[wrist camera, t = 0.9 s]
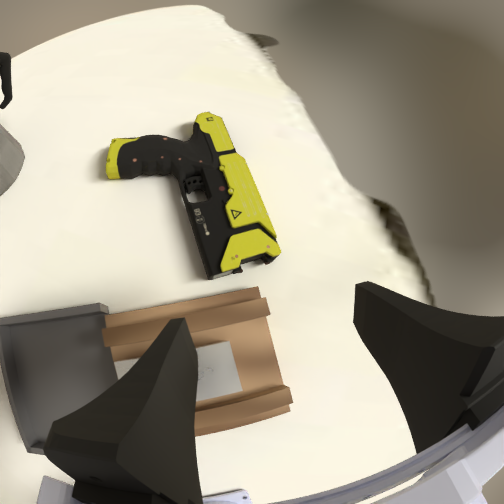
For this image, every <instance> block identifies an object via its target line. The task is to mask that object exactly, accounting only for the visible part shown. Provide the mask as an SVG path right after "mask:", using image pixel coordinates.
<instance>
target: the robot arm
mask: <svg viewBox="0 0 504 504" xmlns="http://www.w3.org/2000/svg"><path fill="white" fill-rule="evenodd" d="M353 323H354V325H355V327H356V329H357V332H358V334H359V336H360V337H361V339H362V341H363V343H364V344H365V346H366V347H367V349H368V350H369V352H370V353H371V355H372V356H373V357H374V359H375V360H376V362H377V363H378V365H379V366H380V368H381V369H382V371H383V372H384V374H385V375H386V377H387V379H388V380H389V382H390V384H391V386H392V388H393V390H394V392H395V394H396V396H397V398H398V401H399V403H400V405H401V408H402V410H403V412H404V415H405V418H406V420H407V423H408V426H409V429H410V432H411V435H412V438H413V442H414V445H415V449H416V453H417V455H415V456H413V457H411V458H409V459H407V460H405V461H403V462H401V463H399V464H397V465H394V466H392V467H390V468H388V469H386V470H383V471H381V472H379V473H376V474H374V475H371V476H369V477H366V478H364V479H361V480H358V481H356V482H353V483H350V484H347V485H344V486H341V487H338V488H334V489H331V490H328V491H324V492H321V493H317V494H313V495H309V496H305V497H300V498H296V499H291V500H286V501H281V502H275V503H269V504H355V503H358V502H360V501H363V500H366V499H368V498H371V497H373V496H376V495H378V494H380V493H383V492H385V491H387V490H390V489H392V488H394V487H396V486H398V485H400V484H402V483H404V482H406V481H408V480H410V479H412V478H414V477H416V476H418V475H419V474H421V473H423V472H425V471H426V472H425V473H424V474H423V476H422V477H421V478H420V479H419V480H418V481H417V482H416V483H415V484H413V485H411V486H409V487H407V488H405V489H403V490H401V491H399V492H396V493H394V494H392V495H390V496H387V497H385V498H383V499H380V500H378V501H376V502H373V503H371V504H487V502H486V500H485V498H484V496H483V494H482V493H481V491H482V486H483V485H484V484H485V483H486V482H487V481H488V480H489V479H490V478H491V477H493V476H494V474H496V473H497V472H498V471H499V470H500V469H501V468H502V467H503V466H504V316H501V317H489V316H476V315H468V314H462V313H456V312H451V311H447V310H443V309H440V308H436V307H433V306H430V305H427V304H424V303H421V302H418V301H416V300H413V299H411V298H408V297H406V296H403V295H401V294H399V293H396V292H394V291H392V290H389V289H387V288H385V287H382V286H380V285H377V284H375V283H372V282H369V281H367V282H362V283H358V284H355V303H354V318H353ZM197 384H198V354H197V351H196V348H195V346H194V343H193V340H192V337H191V334H190V331H189V328H188V325H187V322H186V319H185V317H183V318H175V319H170V321H169V322H168V323H167V324H166V326H165V327H164V328H163V330H162V331H161V332H160V334H159V335H158V336H157V338H156V339H155V340H154V342H153V343H152V344H151V345H150V347H149V348H148V349H147V350H146V352H145V353H144V354H143V355H142V356H141V357H140V358H139V360H138V361H137V362H136V363H135V364H134V365H133V366H132V367H131V369H130V370H129V371H128V372H127V373H126V374H124V375H123V376H122V377H121V378H120V379H119V380H118V381H117V382H116V383H115V384H113V385H112V386H111V387H110V388H108V389H107V390H106V391H104V392H103V393H102V394H101V395H99V396H98V397H97V398H95V399H94V400H92V401H91V402H89V403H88V404H86V405H84V406H83V407H81V408H79V409H78V410H76V411H74V412H72V413H70V414H68V415H66V416H64V417H62V418H60V419H58V420H55V421H53V423H52V426H51V428H50V431H49V433H48V436H47V439H46V442H45V444H44V447H43V451H44V454H45V456H46V457H47V458H48V459H49V460H50V461H51V462H52V463H53V464H54V465H56V466H57V467H58V468H59V469H61V470H62V471H63V472H65V473H66V474H67V475H69V476H70V477H72V478H73V479H74V480H75V484H74V486H72V485H70V484H68V483H65V482H62V481H59V480H56V479H54V478H51V477H48V476H43V480H42V483H41V487H40V491H39V495H38V499H37V504H252V501H251V499H250V496H249V494H248V492H247V491H246V490H239V491H235V492H230V493H226V494H221V495H216V496H211V497H205V498H202V493H201V488H200V482H199V474H198V467H197V457H196V446H195V428H194V424H195V407H196V396H197ZM430 468H431V469H430ZM428 469H429V470H428ZM427 470H428V471H427ZM243 496H247V497H245V498H242V497H243Z"/></svg>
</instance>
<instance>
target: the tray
mask: <svg viewBox="0 0 504 504" xmlns="http://www.w3.org/2000/svg"><path fill="white" fill-rule="evenodd" d="M105 315H109V311H108V306H106V305H103V304H101V303H96V304H90V305H84V306H77V307H71V308H65V309H58V310H52V311H45V312H39V313H32V314H25V315H18V316H11V317H3V318H0V363H1V368H2V373H3V377H4V382H5V386H6V390H7V394H8V397H9V401H10V405H11V408H12V411H13V414H14V417H15V421H16V423H17V426H18V429H19V432H20V435H21V437H22V440H23V442H24V445H25V447H26V450H27V452H28V453H34V454H40V455H45V454H44V451H43V447H44V444H45V442H46V439H47V436H48V433H49V431H50V428H51V426H52V423H53V421H55V420H58V419H60V418H62V417H64V416H66V415H68V414H70V413H72V412H74V411H76V410H78V409H79V408H81V407H83V406H84V405H86V404H88V403H89V402H91V401H92V400H94V399H95V398H97V397H98V396H99V395H101V394H102V393H103V392H104V391H106V390H107V389H108V388H110V387H111V386H112V385H113V384H115V383H116V382H117V381H118V377H117V374H116V370H115V365H114V361H113V357H112V352H111V348H110V347H105V345H104V340H103V334H102V329H104V328H107V327H106V321H105Z"/></svg>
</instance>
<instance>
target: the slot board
mask: <svg viewBox="0 0 504 504" xmlns="http://www.w3.org/2000/svg"><path fill="white" fill-rule="evenodd" d="M268 315H270V311H269V308H268V304H267V300H266V297H265V298H261V296H260V292H259V288H258V286H257V287H253V288H248V289H243V290H239V291H234V292H229V293H224V294H219V295H215V296H210V297H205V298H200V299H194V300H189V301H184V302H179V303H174V304H168V305H163V306H157V307H152V308H146V309H140V310H135V311H129V312H123V313H117V314H111V315H105V321H106V327H107V328H104V329H102V334H103V340H104V345H105V347H110V348H111V352H112V357H113V361H114V362H116V361H119V360H123V359H130V358H136V357H141V356H142V355H143V354H144V353H145V352H146V350H147V349H148V348H149V347H150V345H151V344H152V343H153V342H154V340H155V339H156V338H157V336H158V335H159V334H160V332H161V331H162V330H163V328H164V327H165V326H166V324H167V323H168V322H169V321H170V319H175V318H183V317H185V319H186V322H187V325H188V328H189V331H190V334H191V337H192V340H193V343H194V346H195V347H198V346H203V345H208V344H212V343H217V342H221V341H230V345H231V349H232V353H233V357H234V361H235V365H236V368H237V372H238V376H239V380H240V383H241V387H242V390H243V391H240V392H236V393H232V394H228V395H224V396H219V397H215V398H211V399H206V400H201V401H196V407H195V424H194V428H195V437H196V436H201V435H206V434H211V433H216V432H220V431H225V430H229V429H233V428H237V427H241V426H244V425H248V424H252V423H255V422H259V421H262V420H265V419H268V418H272V417H275V416H278V415H281V414H284V413H287V412H290V407H289V404H291V403H293V400H292V396H291V392H290V388H289V387H287V386H285V385H284V384H283V381H282V377H281V373H280V369H279V365H278V361H277V358H276V354H275V350H274V346H273V342H272V338H271V334H270V331H269V327H268V323H267V319H266V316H268ZM114 365H115V364H114ZM115 370H116V368H115ZM116 374H117V372H116ZM117 377H118V376H117Z"/></svg>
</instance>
